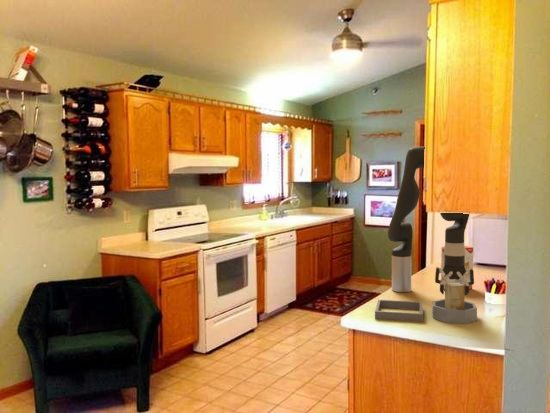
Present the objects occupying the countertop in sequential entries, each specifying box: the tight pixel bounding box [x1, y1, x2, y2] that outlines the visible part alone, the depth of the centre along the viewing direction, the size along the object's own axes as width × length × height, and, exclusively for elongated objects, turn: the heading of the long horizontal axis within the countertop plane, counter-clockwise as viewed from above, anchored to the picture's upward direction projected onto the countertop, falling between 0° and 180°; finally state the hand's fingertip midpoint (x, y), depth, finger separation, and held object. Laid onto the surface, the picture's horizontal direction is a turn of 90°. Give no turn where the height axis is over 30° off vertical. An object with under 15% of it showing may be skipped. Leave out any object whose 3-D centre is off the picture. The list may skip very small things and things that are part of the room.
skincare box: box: [444, 283, 465, 310], centre depth 187 cm, size 6×4×12 cm
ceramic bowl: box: [431, 298, 478, 325], centre depth 187 cm, size 16×16×5 cm
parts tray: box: [374, 299, 424, 323], centre depth 193 cm, size 18×18×3 cm
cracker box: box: [440, 245, 474, 291], centre depth 231 cm, size 14×6×21 cm, turn 101°
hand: (454, 294), depth 187 cm, fingers open, 8 cm apart
